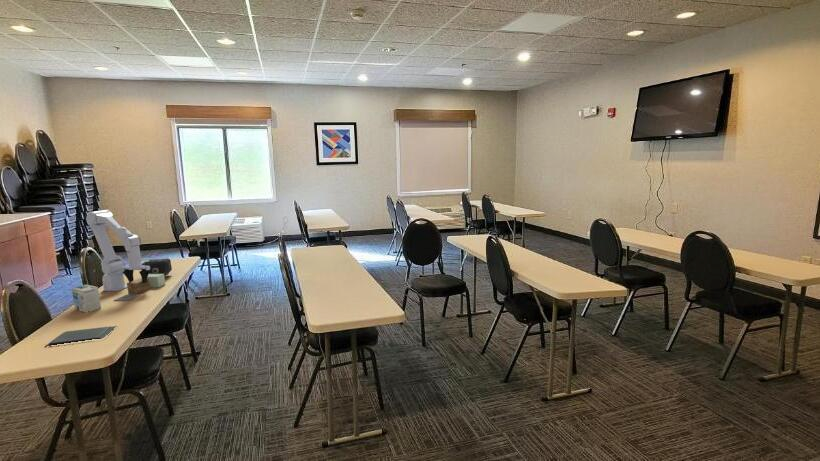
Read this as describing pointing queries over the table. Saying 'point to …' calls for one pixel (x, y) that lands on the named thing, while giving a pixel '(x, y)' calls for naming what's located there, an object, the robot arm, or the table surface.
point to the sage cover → (156, 280)
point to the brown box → (137, 286)
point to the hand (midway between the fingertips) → (138, 282)
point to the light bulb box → (86, 298)
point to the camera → (159, 266)
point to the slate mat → (127, 298)
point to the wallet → (81, 335)
